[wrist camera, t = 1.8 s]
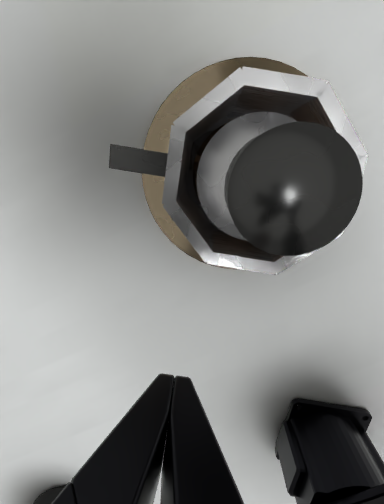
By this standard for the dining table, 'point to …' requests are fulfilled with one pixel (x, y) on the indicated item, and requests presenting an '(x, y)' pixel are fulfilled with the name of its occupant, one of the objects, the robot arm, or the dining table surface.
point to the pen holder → (49, 496)
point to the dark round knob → (279, 182)
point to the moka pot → (200, 133)
